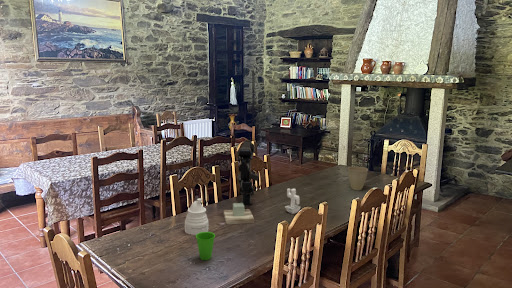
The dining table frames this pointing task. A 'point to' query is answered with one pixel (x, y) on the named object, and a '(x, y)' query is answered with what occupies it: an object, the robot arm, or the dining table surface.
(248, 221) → the birch base
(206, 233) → the cup
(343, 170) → the dining table surface
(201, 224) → the honey pot
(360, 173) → the plant pot
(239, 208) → the sage cube
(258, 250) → the dining table surface
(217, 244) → the dining table surface
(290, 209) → the figurine
